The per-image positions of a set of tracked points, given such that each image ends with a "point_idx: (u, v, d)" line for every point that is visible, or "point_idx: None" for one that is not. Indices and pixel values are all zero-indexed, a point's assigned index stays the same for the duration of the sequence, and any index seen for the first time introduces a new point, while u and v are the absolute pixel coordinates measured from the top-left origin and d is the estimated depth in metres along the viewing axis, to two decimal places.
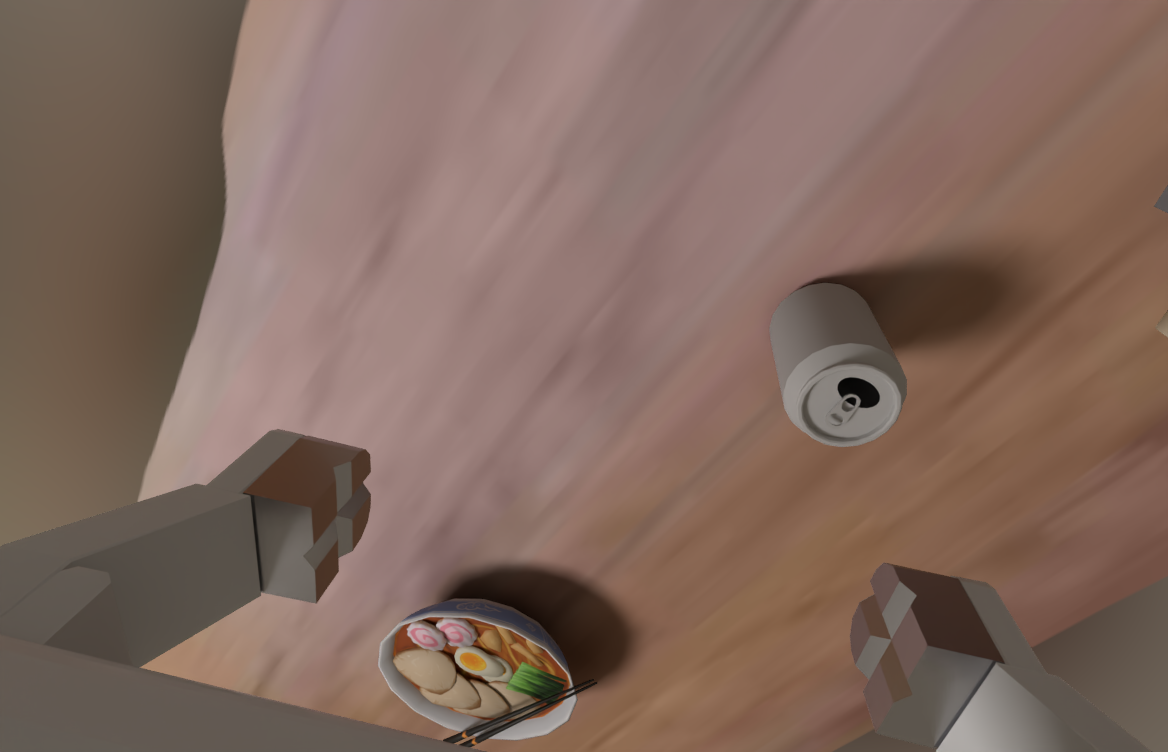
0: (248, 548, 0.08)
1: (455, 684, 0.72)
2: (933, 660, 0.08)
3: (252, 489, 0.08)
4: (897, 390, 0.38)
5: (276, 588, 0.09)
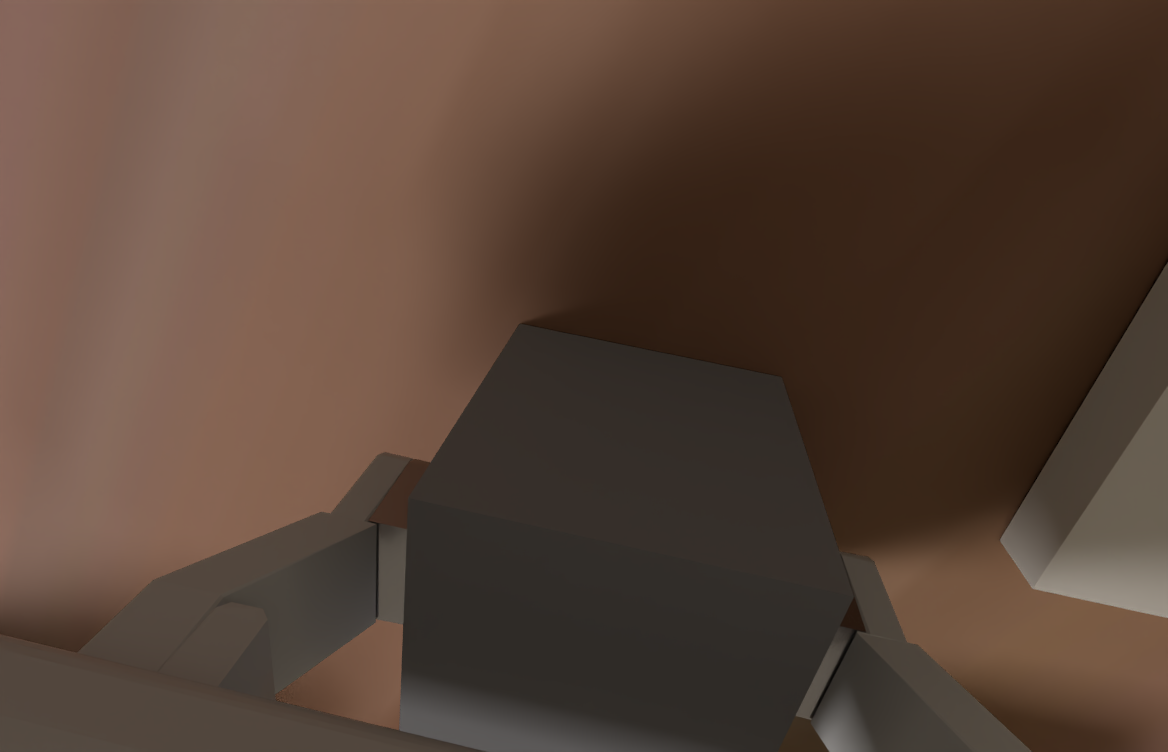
0: (370, 576, 0.08)
1: None
2: None
3: (377, 517, 0.08)
4: None
5: (392, 615, 0.09)
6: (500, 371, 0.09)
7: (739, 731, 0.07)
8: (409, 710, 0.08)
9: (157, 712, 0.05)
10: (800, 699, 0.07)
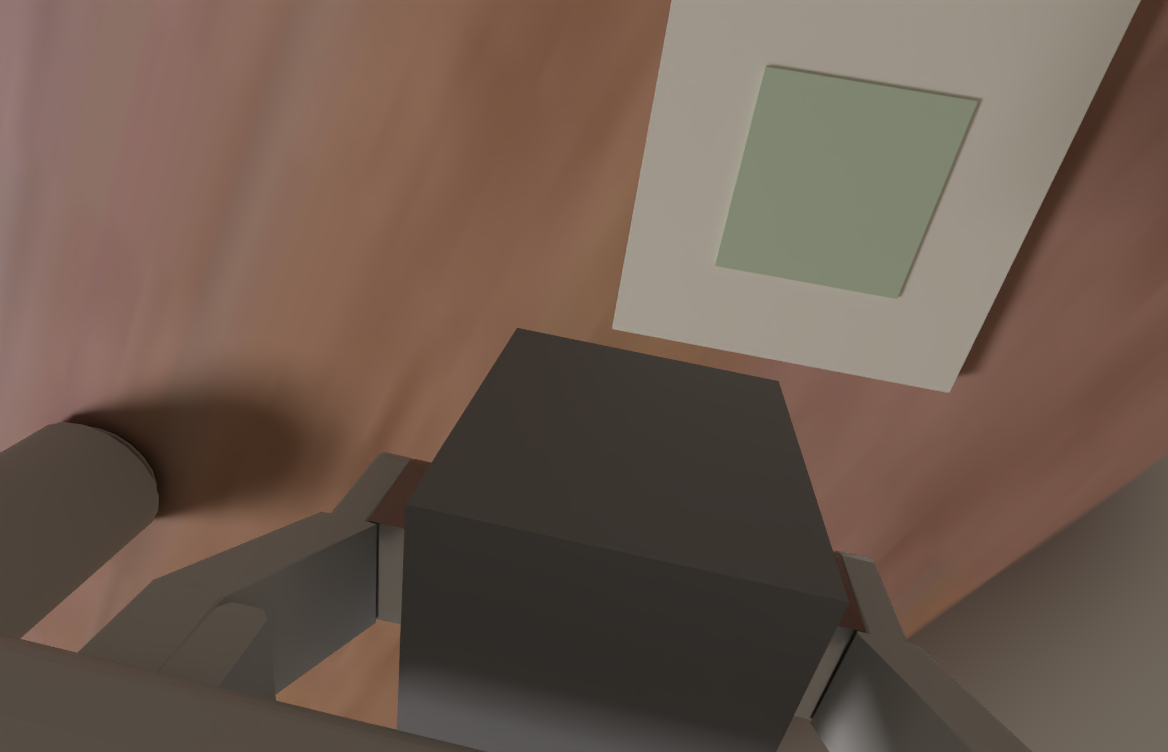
0: (370, 576, 0.08)
1: None
2: None
3: (377, 517, 0.08)
4: None
5: (392, 615, 0.09)
6: (498, 376, 0.09)
7: (735, 736, 0.07)
8: (406, 715, 0.08)
9: (157, 712, 0.05)
10: (796, 704, 0.07)
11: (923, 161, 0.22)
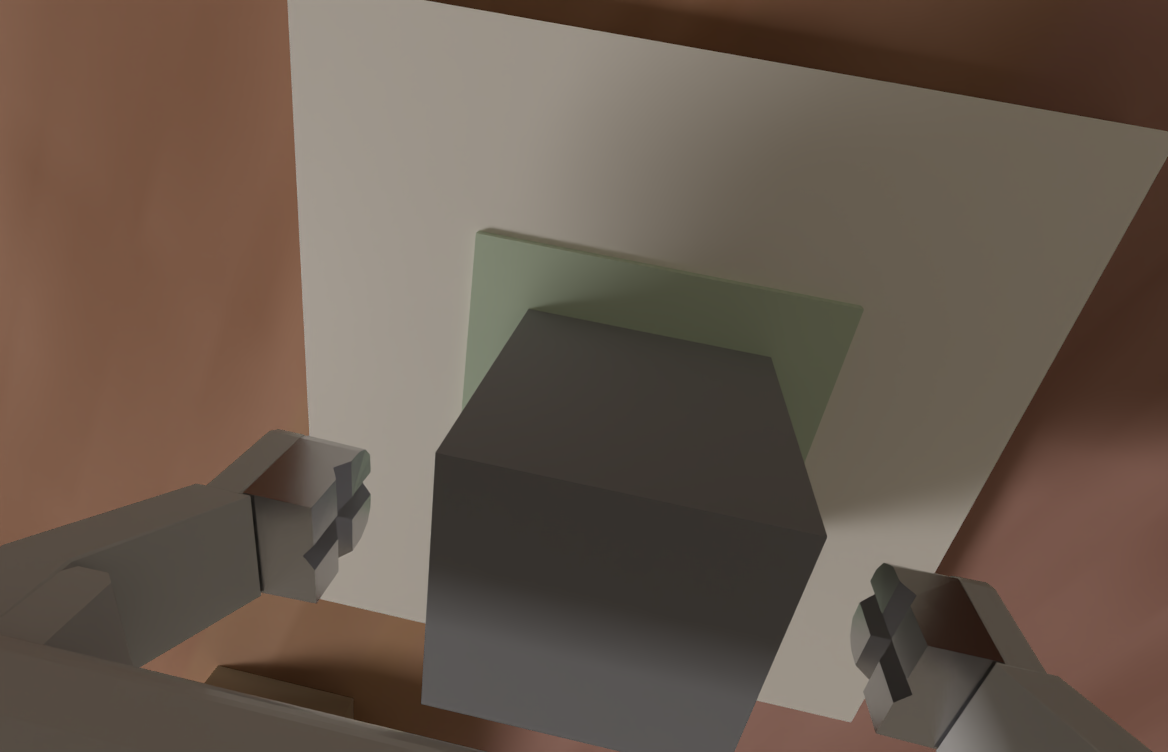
0: (248, 548, 0.08)
1: None
2: (933, 660, 0.08)
3: (252, 489, 0.08)
4: None
5: (276, 588, 0.09)
6: (512, 350, 0.10)
7: (729, 665, 0.08)
8: (432, 652, 0.09)
9: (157, 712, 0.05)
10: (782, 635, 0.08)
11: None
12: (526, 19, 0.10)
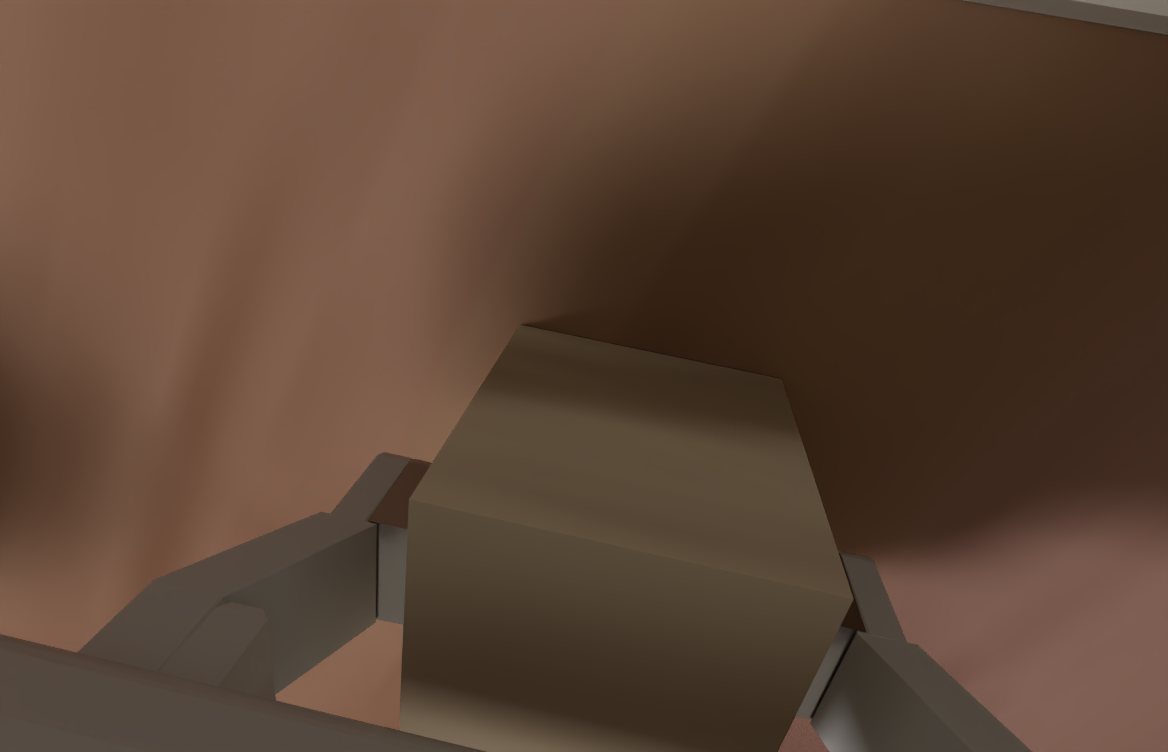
0: (370, 576, 0.08)
1: None
2: None
3: (377, 516, 0.08)
4: None
5: (392, 615, 0.09)
6: None
7: None
8: None
9: (157, 712, 0.05)
10: None
11: None
12: None
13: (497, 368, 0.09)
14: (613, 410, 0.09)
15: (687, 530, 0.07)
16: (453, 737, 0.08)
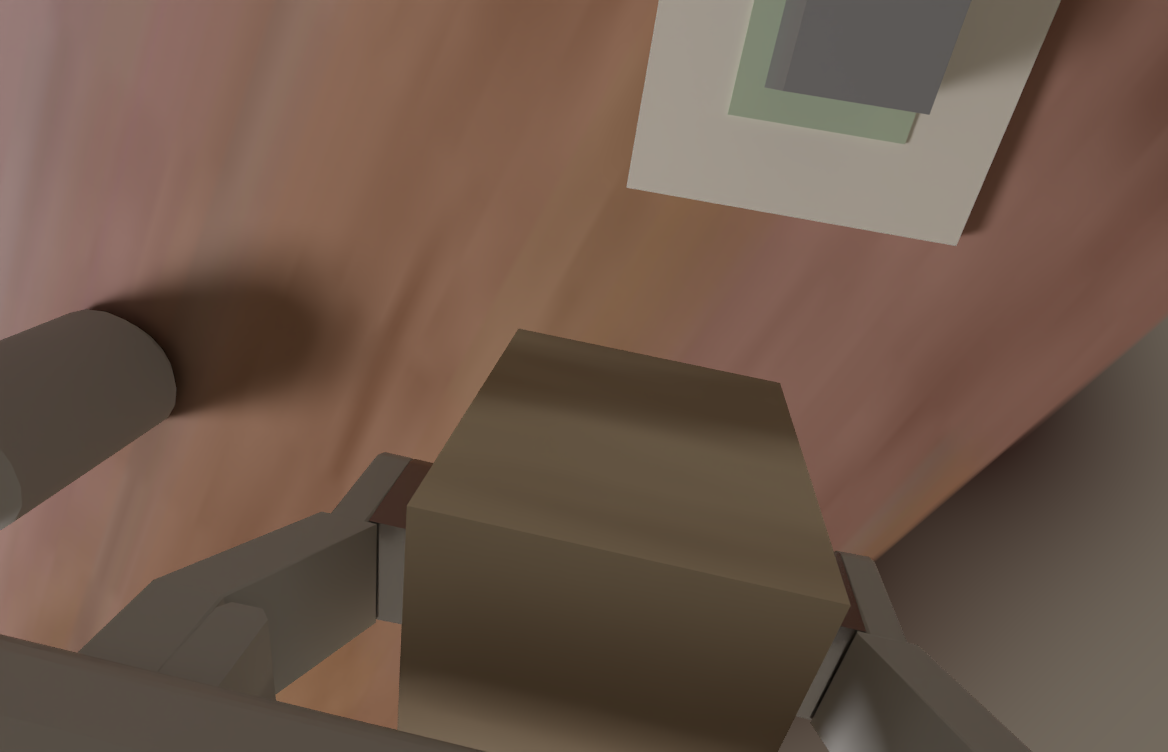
0: (370, 576, 0.08)
1: None
2: None
3: (377, 517, 0.08)
4: None
5: (392, 615, 0.09)
6: None
7: (941, 31, 0.19)
8: (798, 49, 0.19)
9: (157, 712, 0.05)
10: (967, 8, 0.18)
11: None
12: None
13: (495, 372, 0.09)
14: (611, 415, 0.09)
15: (685, 536, 0.07)
16: (451, 742, 0.08)
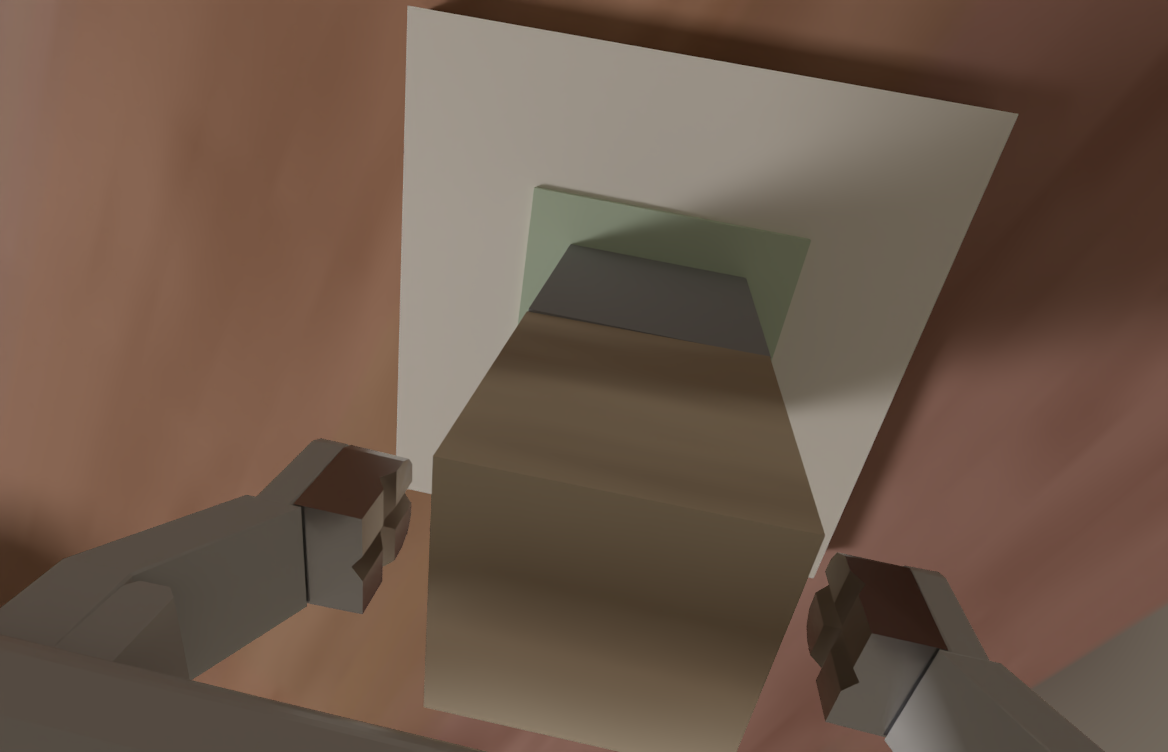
0: (297, 559, 0.08)
1: None
2: (878, 648, 0.08)
3: (303, 500, 0.08)
4: None
5: (323, 599, 0.09)
6: (564, 265, 0.15)
7: None
8: None
9: (157, 712, 0.05)
10: None
11: None
12: (574, 36, 0.14)
13: (506, 349, 0.10)
14: (613, 383, 0.10)
15: (679, 481, 0.08)
16: (474, 679, 0.09)
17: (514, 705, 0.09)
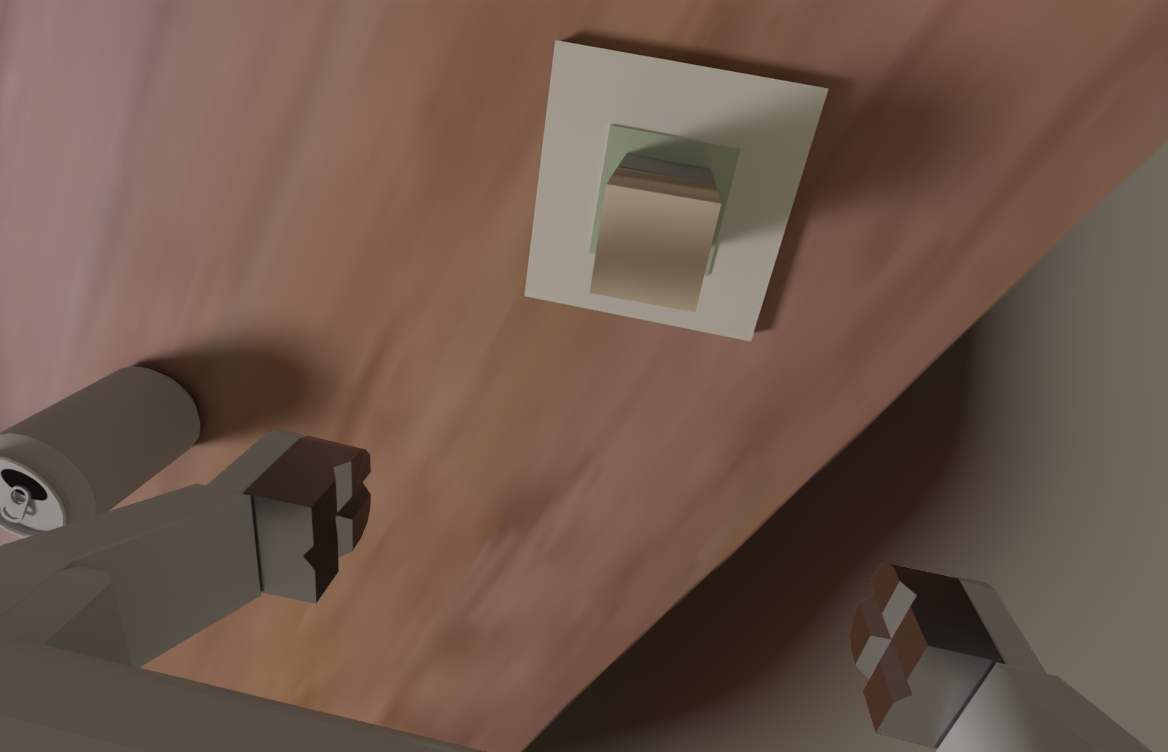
0: (248, 548, 0.08)
1: None
2: (932, 660, 0.08)
3: (252, 488, 0.08)
4: (42, 483, 0.36)
5: (276, 588, 0.09)
6: (626, 158, 0.32)
7: None
8: None
9: (157, 712, 0.05)
10: None
11: None
12: (631, 54, 0.32)
13: (615, 172, 0.28)
14: (655, 181, 0.27)
15: (679, 194, 0.25)
16: (609, 276, 0.26)
17: (622, 287, 0.27)
